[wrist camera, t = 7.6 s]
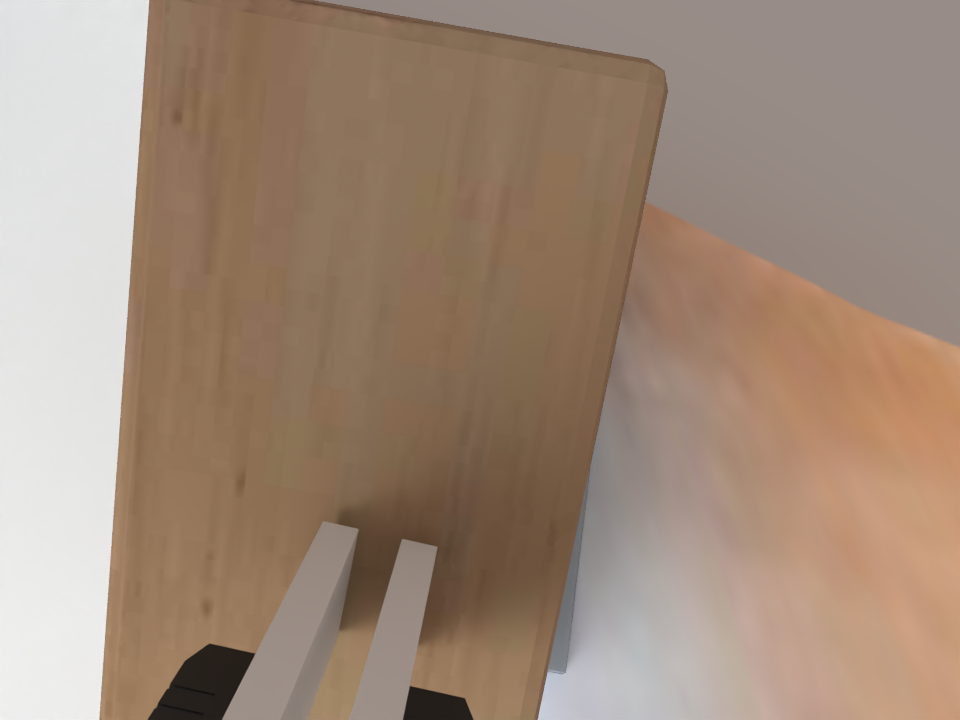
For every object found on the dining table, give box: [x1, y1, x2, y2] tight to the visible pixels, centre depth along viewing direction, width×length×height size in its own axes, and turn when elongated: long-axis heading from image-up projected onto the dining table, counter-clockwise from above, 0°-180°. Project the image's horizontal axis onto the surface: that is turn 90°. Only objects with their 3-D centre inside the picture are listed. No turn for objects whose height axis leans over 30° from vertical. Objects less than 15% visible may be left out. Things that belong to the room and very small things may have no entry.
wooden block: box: [100, 0, 668, 720], centre depth 21 cm, size 10×10×20 cm
